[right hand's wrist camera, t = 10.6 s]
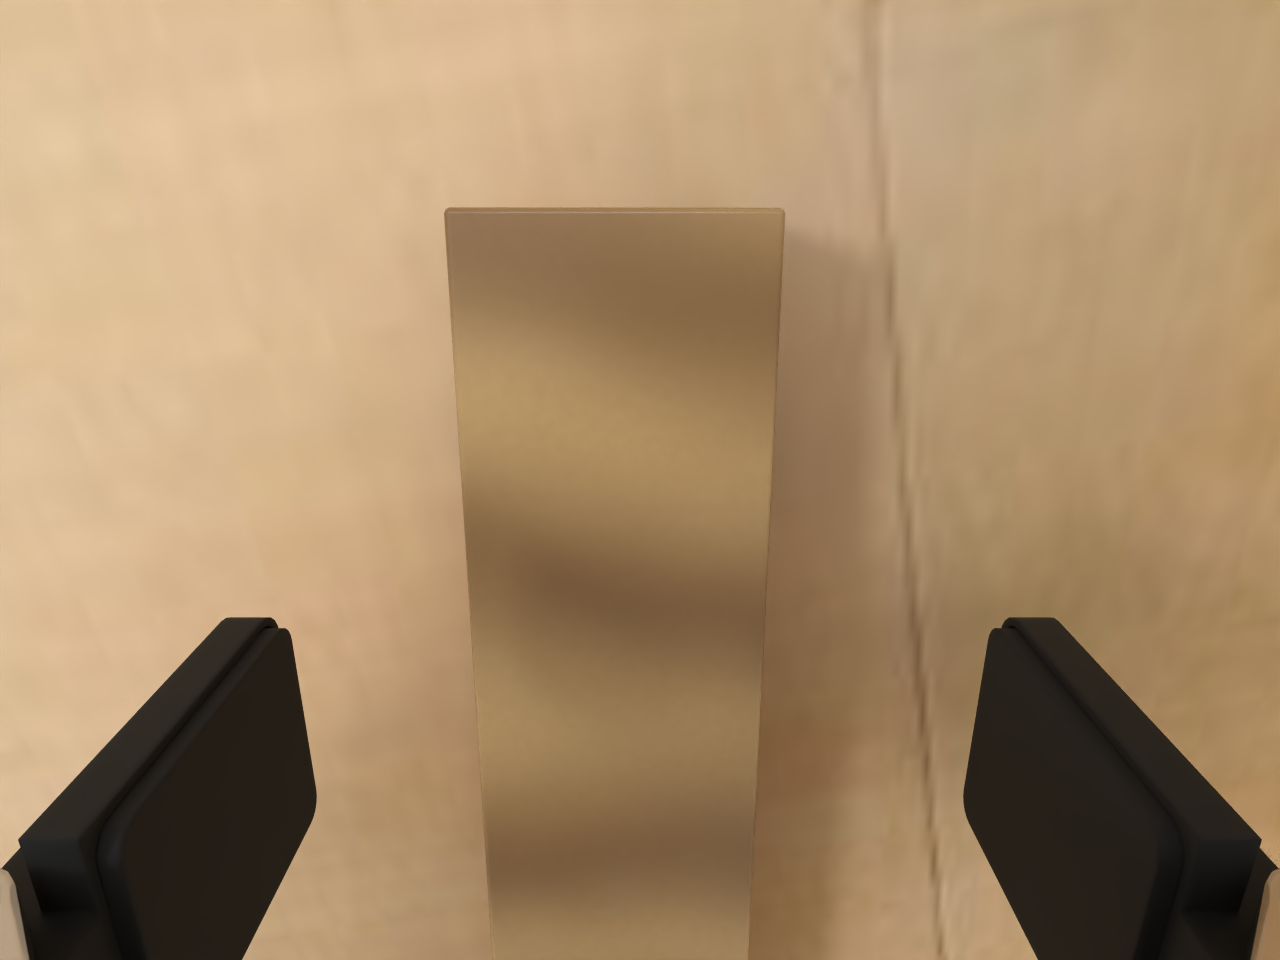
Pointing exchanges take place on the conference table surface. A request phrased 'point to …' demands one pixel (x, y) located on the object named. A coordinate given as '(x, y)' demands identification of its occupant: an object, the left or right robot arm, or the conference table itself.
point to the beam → (617, 565)
